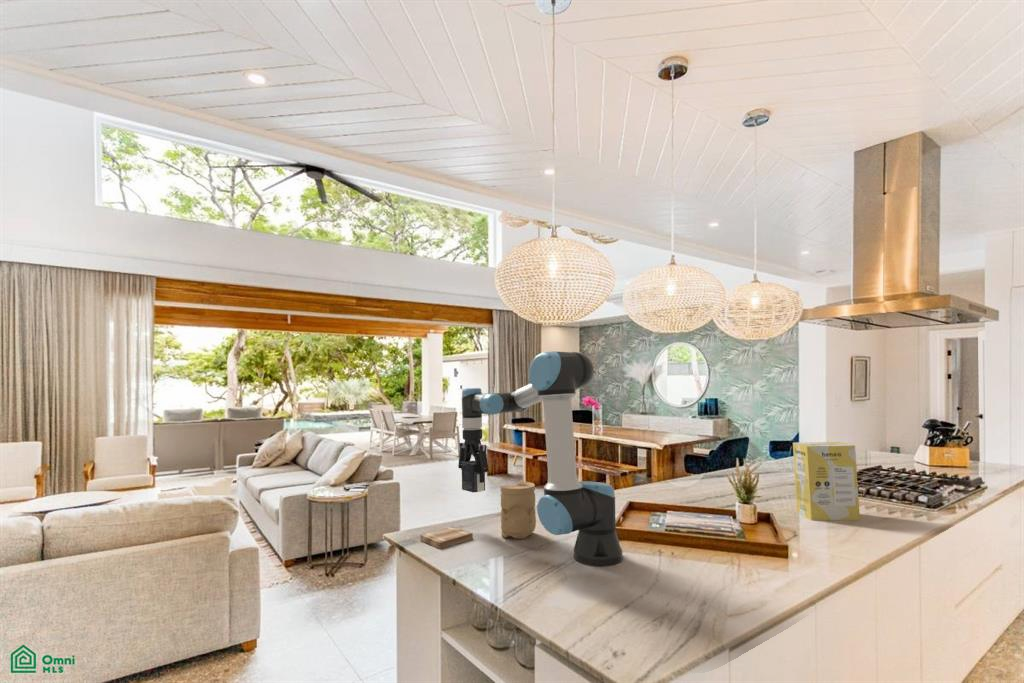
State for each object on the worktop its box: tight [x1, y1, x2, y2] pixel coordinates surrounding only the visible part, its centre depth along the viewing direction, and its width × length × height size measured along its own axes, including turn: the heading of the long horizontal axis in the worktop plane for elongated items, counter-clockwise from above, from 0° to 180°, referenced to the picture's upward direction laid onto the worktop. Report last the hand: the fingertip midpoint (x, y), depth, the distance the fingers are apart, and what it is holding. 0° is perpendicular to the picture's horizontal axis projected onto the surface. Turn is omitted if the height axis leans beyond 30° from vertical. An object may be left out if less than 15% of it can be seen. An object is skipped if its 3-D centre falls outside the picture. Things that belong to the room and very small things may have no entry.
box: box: [461, 460, 486, 493], centre depth 190 cm, size 8×6×11 cm
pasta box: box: [792, 441, 861, 521], centre depth 199 cm, size 18×10×28 cm, turn 88°
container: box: [500, 481, 537, 540], centre depth 182 cm, size 13×13×18 cm
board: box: [420, 526, 474, 550], centre depth 178 cm, size 12×14×2 cm
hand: (473, 489), depth 190 cm, fingers closed on box, 8 cm apart
